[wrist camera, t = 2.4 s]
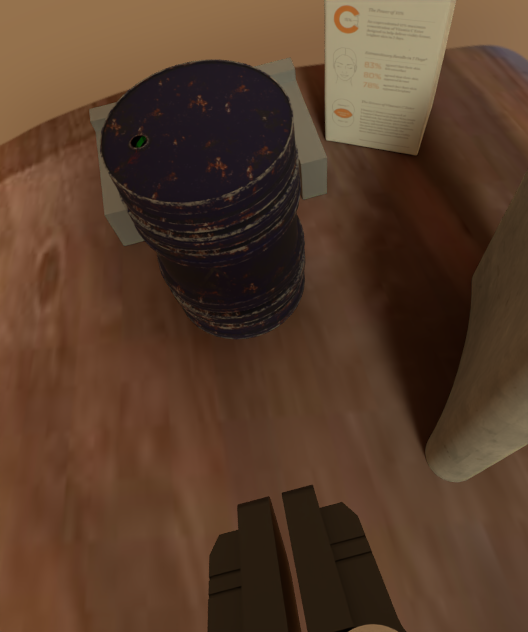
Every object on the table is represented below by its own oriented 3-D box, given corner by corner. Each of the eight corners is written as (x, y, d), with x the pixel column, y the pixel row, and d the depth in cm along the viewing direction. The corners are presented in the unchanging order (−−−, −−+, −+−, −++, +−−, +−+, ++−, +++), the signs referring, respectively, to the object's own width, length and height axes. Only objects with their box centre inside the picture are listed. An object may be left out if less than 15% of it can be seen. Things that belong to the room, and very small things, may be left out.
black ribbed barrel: (286, 213, 40) (267, 38, 26) (324, 318, 35) (324, 170, 22) (166, 247, 40) (87, 88, 26) (189, 357, 35) (107, 231, 22)
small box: (433, 105, 43) (472, -63, 32) (417, 158, 41) (454, -2, 29) (343, 91, 45) (349, -71, 34) (322, 141, 43) (322, -15, 31)
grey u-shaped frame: (124, 246, 40) (99, 206, 36) (112, 154, 45) (89, 109, 40) (326, 193, 40) (327, 147, 36) (293, 107, 45) (290, 57, 41)
